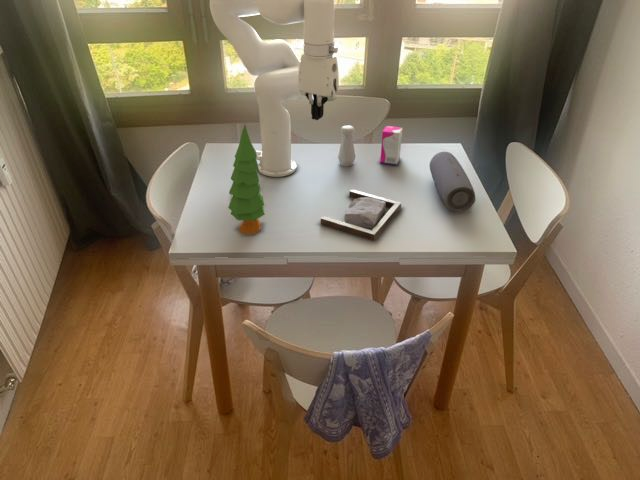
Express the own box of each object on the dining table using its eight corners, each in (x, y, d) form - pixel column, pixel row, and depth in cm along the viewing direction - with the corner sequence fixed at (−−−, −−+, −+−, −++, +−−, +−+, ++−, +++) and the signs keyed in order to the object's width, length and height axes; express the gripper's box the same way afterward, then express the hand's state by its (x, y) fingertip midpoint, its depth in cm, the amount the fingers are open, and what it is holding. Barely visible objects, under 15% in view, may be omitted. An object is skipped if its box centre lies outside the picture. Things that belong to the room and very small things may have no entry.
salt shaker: (344, 158, 170) (345, 122, 163) (358, 162, 168) (360, 126, 160) (334, 164, 166) (335, 127, 159) (348, 168, 164) (350, 131, 156)
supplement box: (400, 158, 170) (403, 127, 164) (396, 166, 166) (399, 133, 159) (383, 156, 172) (386, 124, 165) (379, 163, 167) (382, 131, 161)
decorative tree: (267, 236, 131) (259, 128, 114) (231, 240, 129) (218, 131, 112) (264, 217, 138) (256, 114, 121) (230, 220, 137) (217, 116, 120)
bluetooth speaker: (474, 216, 140) (480, 184, 134) (441, 216, 140) (446, 185, 134) (454, 178, 158) (459, 149, 153) (425, 178, 158) (429, 149, 153)
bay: (320, 224, 136) (320, 218, 135) (351, 194, 149) (351, 189, 148) (373, 241, 129) (374, 234, 128) (400, 208, 143) (401, 202, 142)
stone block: (342, 230, 136) (377, 230, 133) (340, 214, 134) (375, 215, 130) (355, 210, 146) (388, 210, 142) (353, 195, 144) (386, 195, 140)
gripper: (351, 50, 125) (347, 119, 135) (301, 41, 131) (301, 108, 141) (337, 57, 119) (334, 128, 130) (285, 47, 125) (286, 116, 136)
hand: (317, 118), depth 136 cm, fingers closed
